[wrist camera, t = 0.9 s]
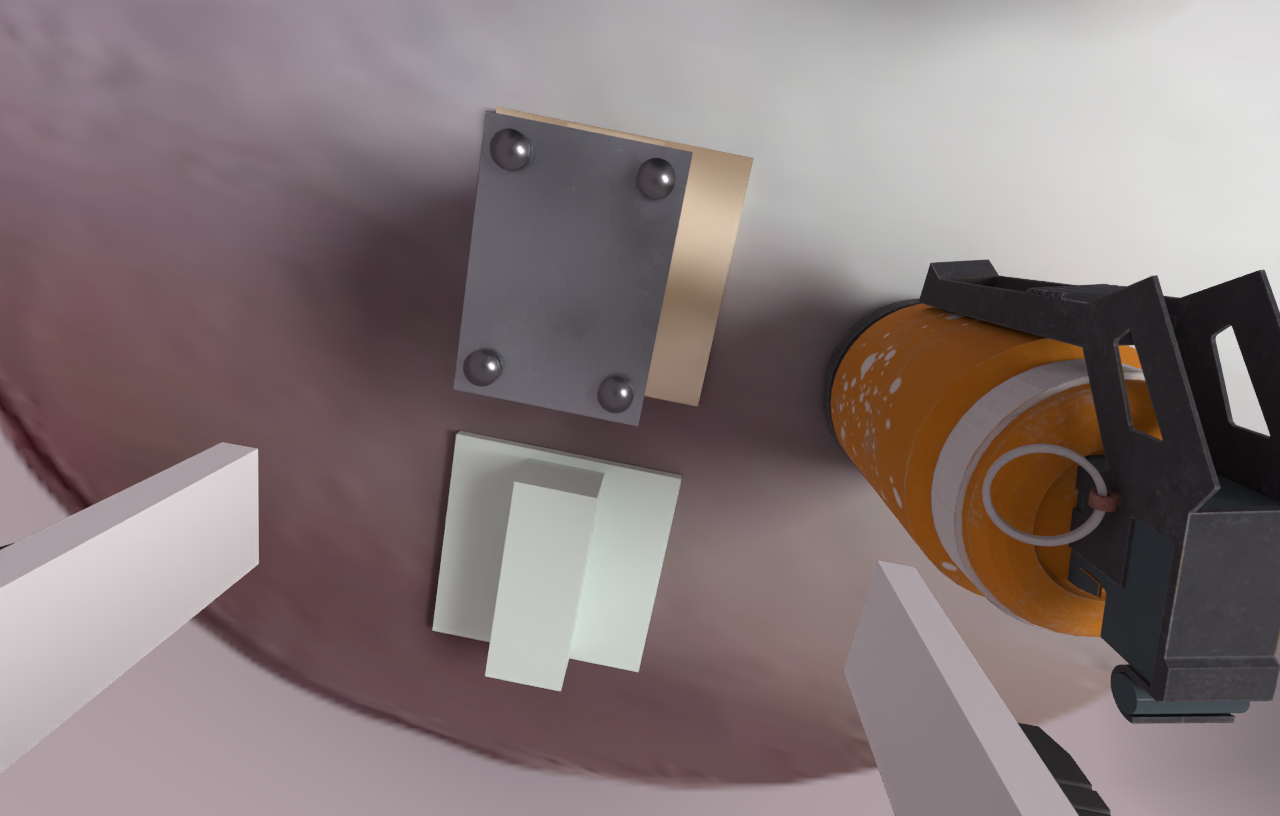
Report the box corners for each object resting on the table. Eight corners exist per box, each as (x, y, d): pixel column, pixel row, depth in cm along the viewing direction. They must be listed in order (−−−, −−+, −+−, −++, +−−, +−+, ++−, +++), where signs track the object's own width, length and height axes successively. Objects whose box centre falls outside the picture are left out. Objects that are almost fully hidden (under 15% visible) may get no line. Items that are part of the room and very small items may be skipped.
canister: (818, 474, 34) (1006, 788, 15) (821, 258, 31) (1058, 294, 12) (995, 468, 33) (1434, 787, 14) (1014, 247, 30) (1596, 265, 11)
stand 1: (499, 109, 30) (473, 90, 26) (751, 159, 30) (763, 148, 26) (469, 357, 33) (441, 373, 29) (697, 403, 33) (700, 425, 29)
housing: (534, 142, 27) (482, 108, 20) (689, 173, 27) (693, 150, 20) (505, 353, 29) (449, 391, 22) (647, 382, 29) (637, 429, 22)
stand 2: (460, 430, 34) (432, 455, 30) (681, 475, 34) (682, 505, 30) (436, 624, 37) (408, 668, 34) (638, 665, 37) (634, 714, 34)
